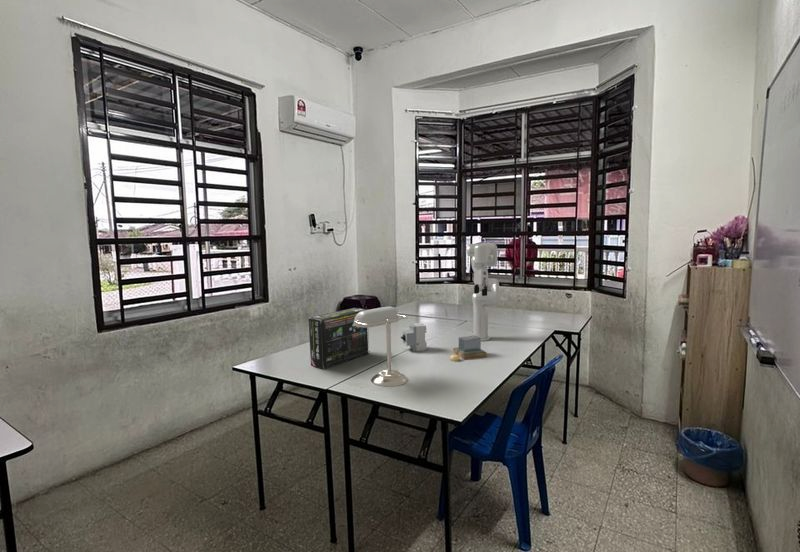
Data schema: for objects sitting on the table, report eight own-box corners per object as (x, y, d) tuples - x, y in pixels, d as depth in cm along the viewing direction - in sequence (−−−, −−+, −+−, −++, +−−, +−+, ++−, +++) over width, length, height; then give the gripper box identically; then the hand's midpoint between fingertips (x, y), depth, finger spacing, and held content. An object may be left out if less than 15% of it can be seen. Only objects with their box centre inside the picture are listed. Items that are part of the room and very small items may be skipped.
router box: (356, 350, 251) (355, 307, 248) (369, 353, 244) (368, 309, 241) (308, 365, 224) (306, 316, 221) (322, 370, 217) (320, 319, 214)
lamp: (389, 366, 221) (388, 303, 218) (421, 377, 203) (421, 309, 200) (348, 378, 203) (346, 310, 200) (380, 392, 186) (378, 317, 182)
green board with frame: (453, 352, 244) (453, 347, 244) (474, 350, 248) (474, 345, 248) (463, 359, 231) (463, 354, 231) (486, 356, 235) (486, 351, 235)
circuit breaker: (400, 349, 253) (399, 324, 252) (422, 346, 258) (421, 323, 256) (404, 352, 246) (403, 327, 244) (426, 350, 250) (426, 325, 249)
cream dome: (448, 359, 232) (448, 355, 232) (457, 358, 234) (457, 354, 233) (452, 362, 227) (452, 357, 227) (460, 361, 229) (460, 356, 229)
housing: (475, 347, 244) (475, 335, 244) (480, 349, 239) (480, 337, 238) (458, 349, 240) (458, 337, 240) (463, 352, 235) (464, 339, 234)
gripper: (493, 266, 238) (493, 296, 240) (479, 264, 254) (479, 292, 256) (482, 267, 236) (481, 297, 238) (468, 264, 252) (468, 292, 254)
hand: (480, 294), depth 247 cm, fingers open, 9 cm apart
